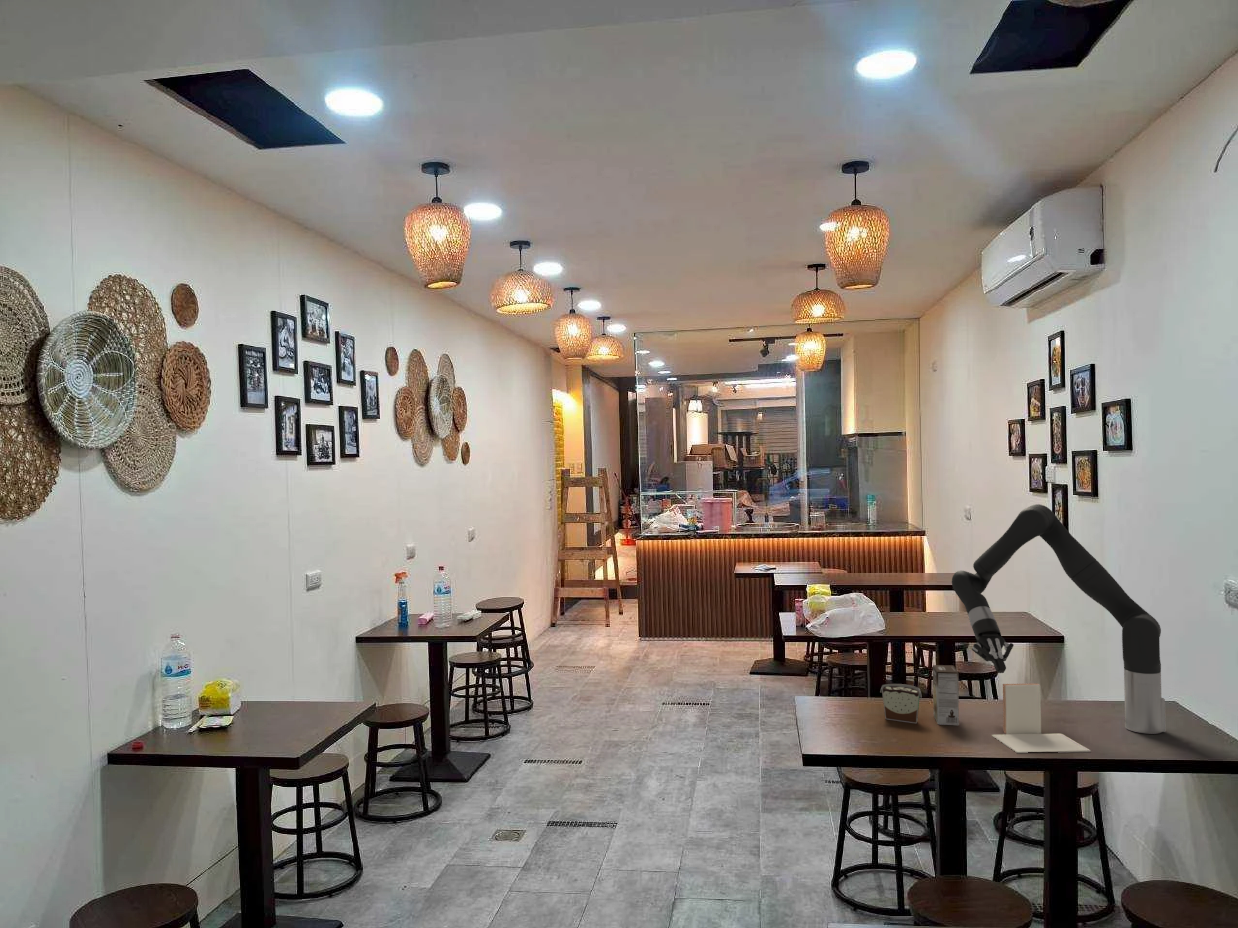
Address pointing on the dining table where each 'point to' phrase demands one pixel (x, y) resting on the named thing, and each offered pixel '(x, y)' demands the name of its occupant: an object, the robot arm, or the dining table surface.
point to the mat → (1040, 743)
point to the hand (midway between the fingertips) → (1002, 671)
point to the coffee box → (945, 695)
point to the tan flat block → (1021, 708)
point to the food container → (901, 702)
